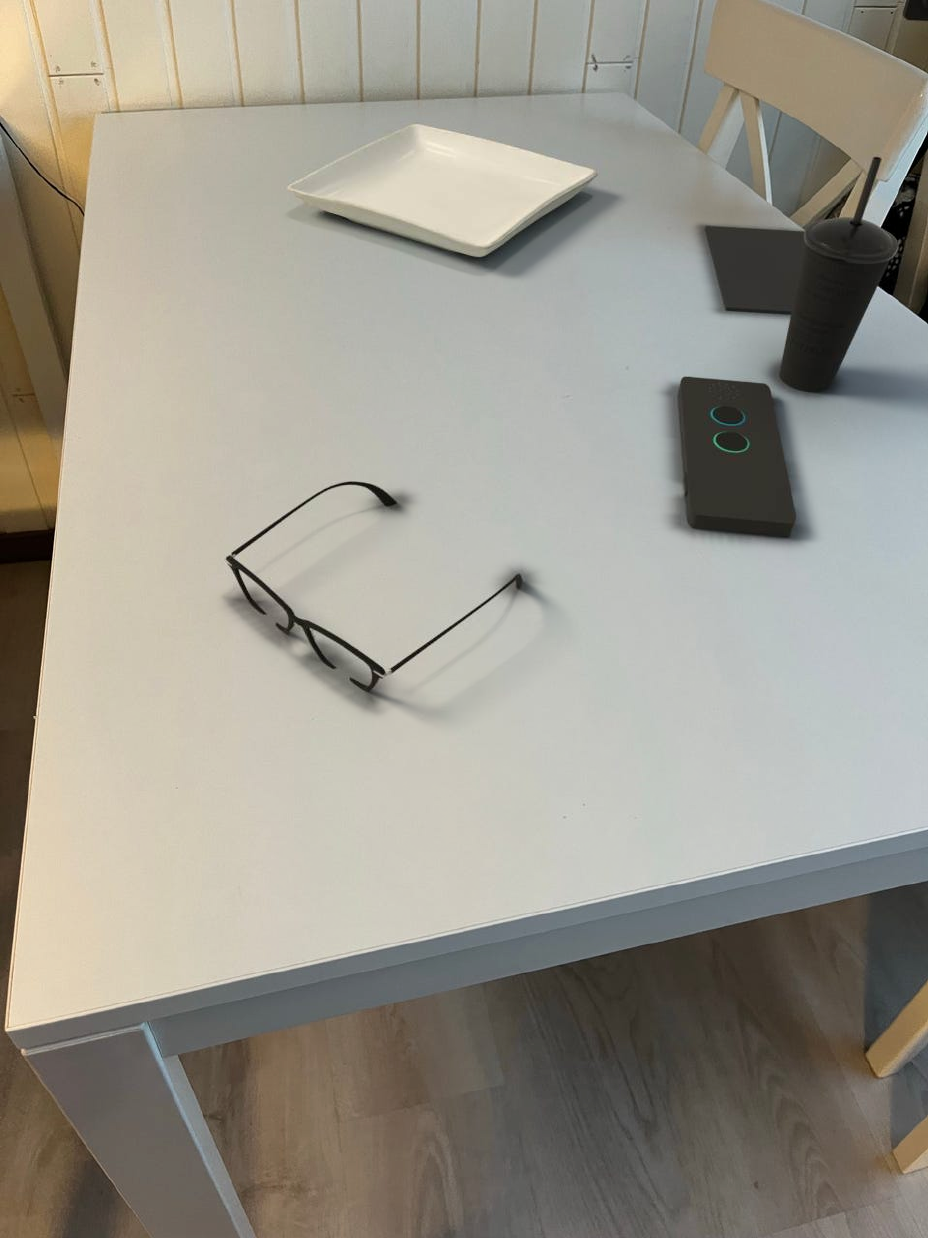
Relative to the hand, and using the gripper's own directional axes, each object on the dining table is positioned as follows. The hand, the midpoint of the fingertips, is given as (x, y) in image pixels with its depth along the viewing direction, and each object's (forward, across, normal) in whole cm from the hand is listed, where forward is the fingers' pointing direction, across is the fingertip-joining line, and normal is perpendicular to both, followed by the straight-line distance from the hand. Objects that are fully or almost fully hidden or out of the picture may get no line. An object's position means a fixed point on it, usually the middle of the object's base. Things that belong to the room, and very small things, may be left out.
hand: (902, 0), depth 68 cm
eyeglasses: (+31, -31, +36) cm, 57 cm away
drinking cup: (+31, -1, -2) cm, 31 cm away
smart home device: (+31, -14, +8) cm, 34 cm away
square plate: (+31, +36, +33) cm, 58 cm away
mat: (+31, +22, -3) cm, 37 cm away
